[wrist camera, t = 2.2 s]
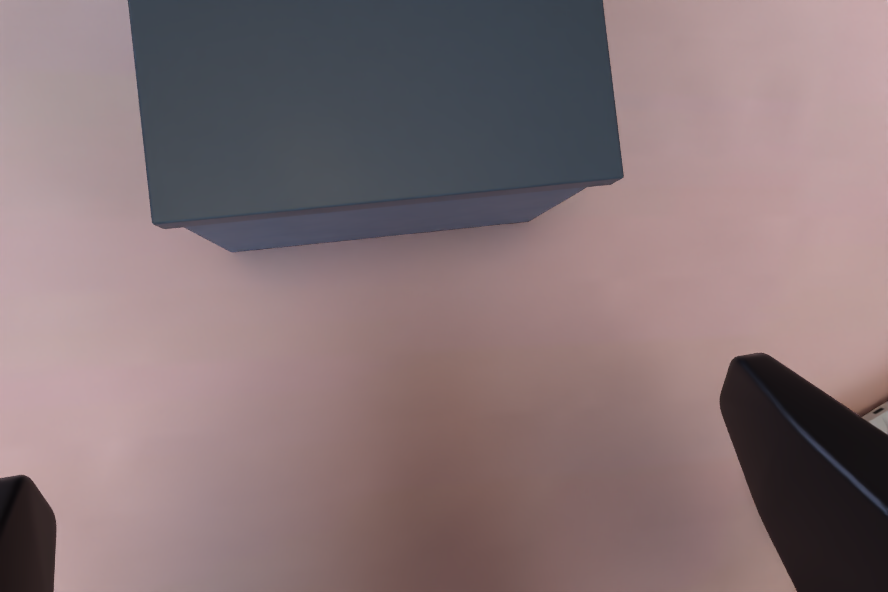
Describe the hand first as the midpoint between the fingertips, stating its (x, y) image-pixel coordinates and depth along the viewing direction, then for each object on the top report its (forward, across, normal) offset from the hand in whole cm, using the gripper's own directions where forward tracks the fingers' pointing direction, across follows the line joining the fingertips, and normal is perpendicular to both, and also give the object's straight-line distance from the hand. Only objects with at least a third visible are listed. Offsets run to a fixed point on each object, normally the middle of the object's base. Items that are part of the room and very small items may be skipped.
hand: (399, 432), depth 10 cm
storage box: (+16, -1, +2) cm, 16 cm away
